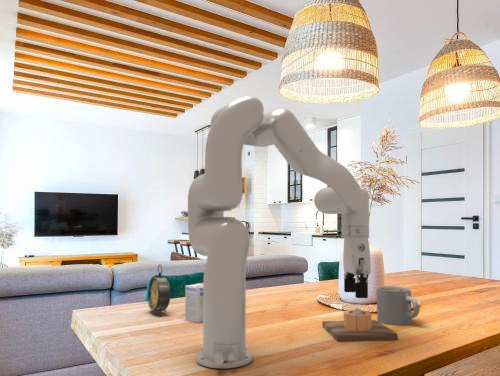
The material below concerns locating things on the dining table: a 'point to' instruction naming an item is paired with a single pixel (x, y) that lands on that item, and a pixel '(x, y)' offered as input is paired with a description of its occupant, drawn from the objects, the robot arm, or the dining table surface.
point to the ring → (357, 320)
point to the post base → (343, 334)
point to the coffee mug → (395, 305)
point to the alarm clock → (159, 293)
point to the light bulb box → (194, 302)
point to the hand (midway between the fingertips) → (355, 294)
